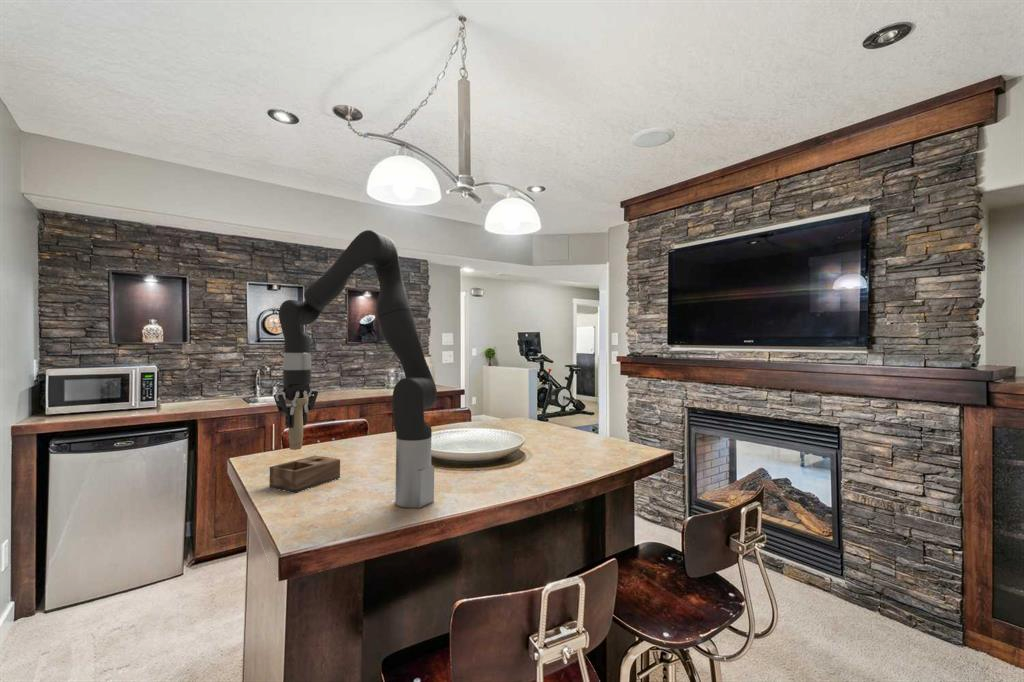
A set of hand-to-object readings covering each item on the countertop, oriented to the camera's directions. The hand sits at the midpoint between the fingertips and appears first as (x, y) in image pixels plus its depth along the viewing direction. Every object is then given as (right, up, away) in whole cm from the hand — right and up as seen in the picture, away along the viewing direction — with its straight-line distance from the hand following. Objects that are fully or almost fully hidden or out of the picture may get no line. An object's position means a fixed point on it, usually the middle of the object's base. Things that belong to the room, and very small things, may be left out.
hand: (296, 426), depth 133 cm
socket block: (+1, -18, +3) cm, 18 cm away
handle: (0, -7, 0) cm, 7 cm away
